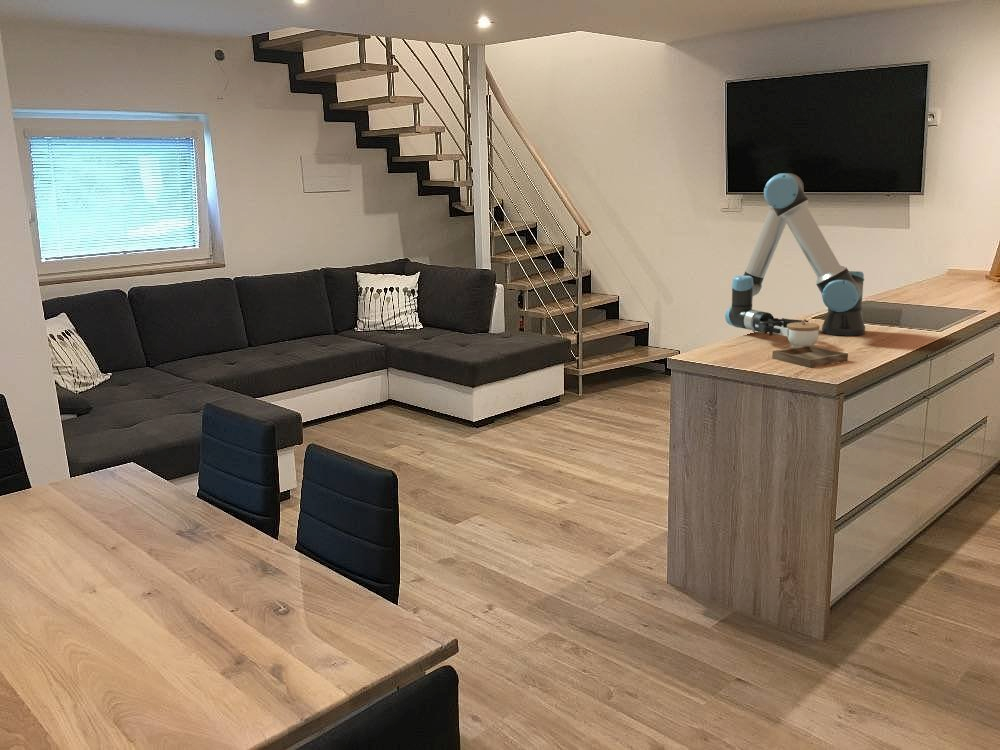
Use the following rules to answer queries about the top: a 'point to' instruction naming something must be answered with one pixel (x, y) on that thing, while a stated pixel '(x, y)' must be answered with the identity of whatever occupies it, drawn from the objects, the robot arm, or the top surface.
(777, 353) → the tray
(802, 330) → the lidded jar
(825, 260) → the robot arm
